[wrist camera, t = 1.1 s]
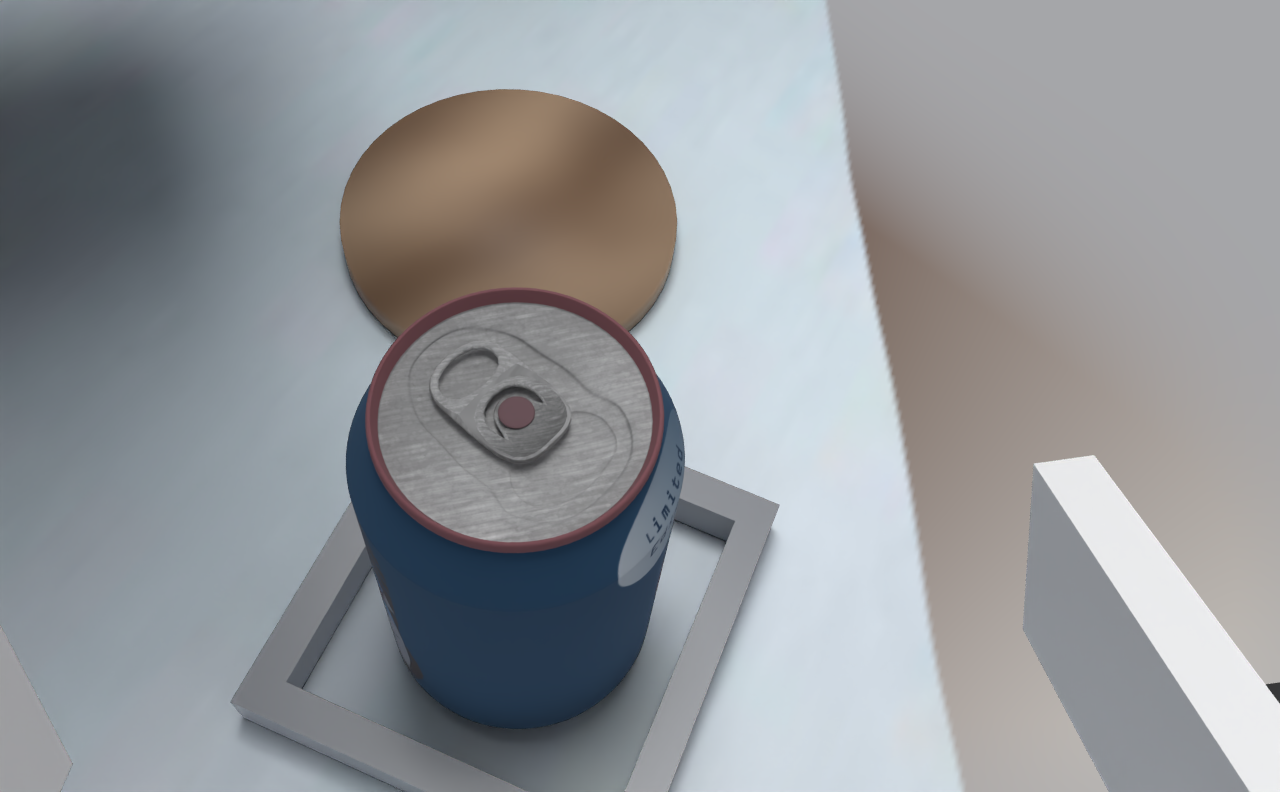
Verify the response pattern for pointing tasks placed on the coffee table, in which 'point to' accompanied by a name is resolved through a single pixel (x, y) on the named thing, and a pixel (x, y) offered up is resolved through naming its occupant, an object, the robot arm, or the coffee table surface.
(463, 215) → the coaster
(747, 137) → the coffee table surface
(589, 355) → the soda can
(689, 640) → the can holder
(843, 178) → the coffee table surface
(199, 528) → the coffee table surface
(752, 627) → the coffee table surface
